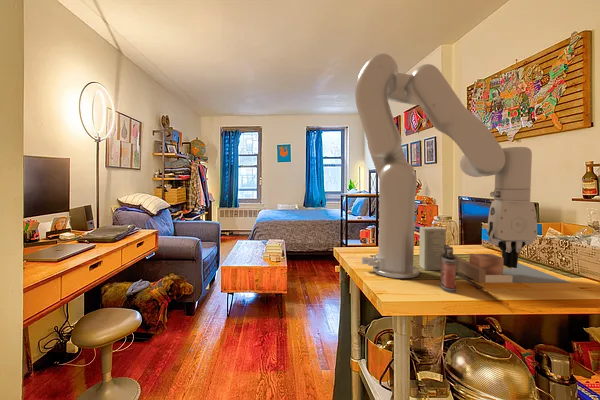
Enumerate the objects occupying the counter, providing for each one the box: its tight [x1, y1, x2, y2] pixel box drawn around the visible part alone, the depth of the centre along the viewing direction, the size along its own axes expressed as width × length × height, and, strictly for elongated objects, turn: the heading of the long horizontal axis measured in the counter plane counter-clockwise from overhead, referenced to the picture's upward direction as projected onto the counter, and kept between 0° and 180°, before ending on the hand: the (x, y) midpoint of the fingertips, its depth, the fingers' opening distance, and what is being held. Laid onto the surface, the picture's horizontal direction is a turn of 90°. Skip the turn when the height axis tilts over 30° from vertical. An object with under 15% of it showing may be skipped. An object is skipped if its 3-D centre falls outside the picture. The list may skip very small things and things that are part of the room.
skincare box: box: [418, 226, 447, 271], centre depth 88 cm, size 6×4×12 cm
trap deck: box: [453, 254, 571, 289], centre depth 81 cm, size 22×18×4 cm
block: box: [468, 253, 504, 275], centre depth 77 cm, size 6×4×5 cm
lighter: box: [439, 244, 458, 294], centre depth 73 cm, size 8×3×10 cm, turn 163°
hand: (509, 266), depth 77 cm, fingers closed
